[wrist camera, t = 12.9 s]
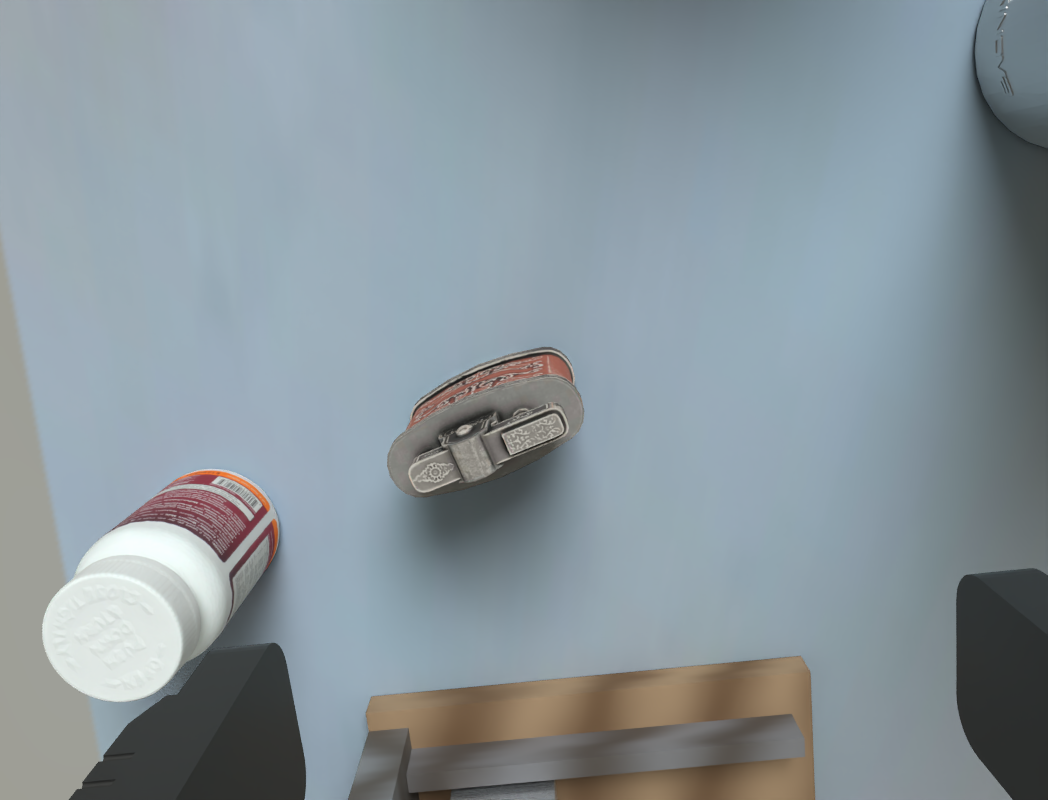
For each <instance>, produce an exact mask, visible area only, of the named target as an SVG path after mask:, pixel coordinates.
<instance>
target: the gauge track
mask: <svg viewBox="0 0 1048 800" xmlns="http://www.w3.org/2000/svg"><path fill="white" fill-rule="evenodd" d="M366 717H367V723H368V729H369V733H368V736H367V739H366V742H365V746H364V749H363V752H362V756H361V759H360V762H359V766H358V769H357V772H356V775H355V779H354V782H353V785H352V789H351V792H350V795H349V798H348V800H450V798H451V790H452V789H459V788H470V787H481V786H492V785H503V784H514V783H525V782H535V781H546V780H555V782H556V791H557V800H815V785H814V758H813V731H812V704H811V676H810V670H809V669H808V667H807V666H806V664H805V662H804V661H803V659H802V657H801V656H796V657H785V658H775V659H764V660H754V661H743V662H733V663H722V664H712V665H701V666H690V667H680V668H669V669H659V670H648V671H638V672H627V673H616V674H606V675H595V676H585V677H574V678H564V679H553V680H542V681H532V682H521V683H511V684H500V685H490V686H479V687H468V688H458V689H447V690H437V691H426V692H416V693H405V694H394V695H384V696H373V697H371V699H370V702H369V706H368V709H367V712H366Z"/></svg>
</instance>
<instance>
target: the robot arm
mask: <svg viewBox="0 0 1048 800" xmlns="http://www.w3.org/2000/svg"><path fill="white" fill-rule="evenodd" d="M975 59H976V70H977V76H978V80H979V83H980V86H981V89H982V92H983V95H984V97H985V99H986V101H987V103H988V104H989V106H990V108H991V109H992V111H993V113H994V115H995V116H996V117H997V118H998V119H999V120H1000V121H1001V122H1002V123H1003V124H1004V125H1005V126H1006V127H1007V128H1008V129H1009V130H1010V131H1011V132H1013V133H1015V134H1016V135H1018V136H1019V137H1021V138H1022V139H1024V140H1026V141H1027V142H1030V143H1033V144H1036V145H1039V146H1042V147H1045V148H1048V0H986V2H985V4H984V7H983V11H982V14H981V17H980V20H979V24H978V27H977V35H976V44H975ZM956 635H957V705H958V711H959V716H960V720H961V723H962V726H963V729H964V732H965V735H966V737H967V739H968V741H969V743H970V745H971V747H972V749H973V751H974V752H975V754H976V755H977V756H978V758H979V759H980V760H981V761H982V762H983V764H984V765H985V766H986V767H987V769H988V770H989V771H990V772H991V773H992V775H993V776H994V777H995V778H996V780H997V781H998V782H999V783H1000V784H1001V786H1002V787H1003V788H1004V789H1005V791H1006V792H1007V793H1008V794H1009V795H1010V797H1011V798H1012V799H1013V800H1048V576H1047V575H1046V574H1044V573H1043V572H1041V571H1039V570H1037V569H1034V568H1031V569H1020V570H1010V571H1000V572H990V573H980V574H970V575H966V576H964V577H963V578H962V579H961V581H960V583H959V585H958V589H957V599H956ZM103 756H104V759H103V762H98V763H97V764H96V766H95V767H94V768H93V769H92V771H91V772H90V773H89V775H88V776H87V777H86V778H85V780H84V781H83V782H82V783H83V786H82V789H77V790H76V791H75V792H74V794H73V795H72V796H71V798H70V799H69V800H304V799H305V789H306V768H305V759H304V753H303V747H302V742H301V737H300V732H299V726H298V721H297V716H296V711H295V706H294V700H293V695H292V690H291V685H290V679H289V674H288V669H287V664H286V660H285V656H284V653H283V651H282V649H281V648H280V646H279V645H278V644H276V643H267V644H257V645H247V646H237V647H227V648H217V649H212V650H211V651H209V652H208V654H207V655H206V656H205V657H204V659H203V660H202V662H201V663H200V664H199V666H198V667H197V668H196V670H195V671H194V672H193V674H192V675H191V677H190V678H189V679H188V681H187V682H186V683H185V685H184V686H183V688H182V689H181V690H180V692H179V693H178V694H177V695H169V696H165V697H164V698H163V699H161V700H160V701H159V702H157V703H156V704H155V705H153V706H152V707H150V708H149V709H148V710H146V711H145V712H144V713H142V714H141V715H140V716H138V717H137V718H136V719H134V720H133V721H131V722H130V723H129V724H128V725H127V726H126V727H125V729H124V730H123V731H122V732H121V734H120V735H119V736H118V738H117V739H116V740H115V741H114V743H113V744H112V745H111V746H110V748H109V749H108V750H107V752H106V753H105V754H104V755H103Z"/></svg>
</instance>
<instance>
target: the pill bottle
mask: <svg viewBox="0 0 1048 800" xmlns="http://www.w3.org/2000/svg"><path fill="white" fill-rule="evenodd" d="M279 535H280V531H279V521H278V517H277V514H276V511H275V508H274V506H273V504H272V502H271V501H270V499H269V497H268V496H267V495H266V493H265V492H264V491H263V490H262V489H261V488H260V487H259V486H258V485H256V484H255V483H254V482H252V481H251V480H249V479H248V478H246V477H244V476H242V475H240V474H237V473H234V472H231V471H228V470H221V469H202V470H197V471H193V472H190V473H188V474H185V475H183V476H181V477H180V478H178V479H176V480H175V481H173V482H172V483H171V484H169V485H168V486H167V487H165V488H164V489H163V490H162V491H160V492H159V493H158V494H157V495H155V496H154V497H153V498H151V499H150V500H149V501H148V502H147V503H145V504H144V505H143V506H142V507H140V508H139V509H138V510H136V511H135V512H134V513H133V514H131V515H130V516H129V517H127V518H126V519H125V520H124V521H122V522H121V523H120V524H119V525H117V526H116V527H115V528H113V529H112V530H111V531H109V532H108V533H106V534H105V535H104V536H103V537H101V538H100V539H99V540H98V541H97V542H96V543H95V544H94V545H93V546H92V547H91V548H90V549H89V550H88V551H87V552H86V554H85V555H84V557H83V558H82V560H81V561H80V563H79V565H78V567H77V570H76V572H75V576H74V578H73V579H72V580H71V581H70V582H68V583H67V584H66V585H65V586H64V587H63V588H61V589H60V590H59V592H58V593H57V594H56V595H55V596H54V597H53V599H52V600H51V602H50V604H49V605H48V608H47V610H46V612H45V616H44V619H43V627H42V637H43V644H44V648H45V651H46V654H47V656H48V658H49V661H50V662H51V664H52V666H53V667H54V669H55V670H56V671H57V673H58V674H59V675H60V676H61V677H62V678H63V679H64V680H65V681H66V682H67V683H69V684H70V685H71V686H73V687H74V688H75V689H77V690H79V691H80V692H82V693H84V694H86V695H89V696H91V697H94V698H97V699H100V700H104V701H110V702H128V701H135V700H139V699H142V698H145V697H148V696H150V695H152V694H154V693H156V692H157V691H159V690H160V689H162V688H163V687H164V686H165V685H166V684H167V683H168V682H169V681H170V680H171V679H172V678H173V677H174V676H175V674H176V673H177V672H178V671H179V669H180V668H181V667H182V666H183V665H184V664H185V663H186V662H188V661H190V660H192V659H194V658H195V657H197V656H198V655H200V654H201V653H203V652H204V651H205V650H206V649H207V648H208V647H209V646H210V645H211V644H212V643H213V642H214V641H215V640H216V639H217V638H218V636H219V635H220V634H221V632H222V631H223V630H224V628H225V626H226V625H227V624H228V622H229V621H230V619H231V618H232V616H233V615H234V614H235V612H236V611H237V609H238V608H239V607H240V605H241V604H242V603H243V601H244V600H245V598H246V597H247V595H248V594H249V592H250V591H251V590H252V588H253V587H254V586H255V584H256V583H257V581H258V580H259V578H260V577H261V576H262V574H263V573H264V572H265V570H266V569H267V567H268V566H269V564H270V563H271V561H272V559H273V557H274V555H275V553H276V550H277V547H278V543H279Z"/></svg>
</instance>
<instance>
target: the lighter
mask: <svg viewBox="0 0 1048 800" xmlns="http://www.w3.org/2000/svg"><path fill="white" fill-rule="evenodd" d="M574 380H575V376H574V372H573V368H572V365H571V363H570V361H569V360H568V358H567V356H565V355H564V354H563V353H562V352H561V351H560V350H557V349H555V348H552V347H541V348H536V349H531V350H526V351H521V352H517V353H512V354H508V355H505V356H502V357H499V358H497V359H494V360H491V361H488V362H485V363H482V364H479V365H477V366H475V367H473V368H471V369H469V370H467V371H465V372H463V373H461V374H459V375H457V376H455V377H453V378H451V379H449V380H447V381H446V382H444V383H443V384H441V385H440V386H438V387H437V388H435V389H434V390H432V391H430V392H429V393H427V394H426V395H424V396H423V397H422V398H421V399H420V400H419V401H418V402H417V403H416V404H415V406H414V408H413V410H412V413H411V415H410V423H409V425H408V427H407V429H406V431H405V432H403V433H402V434H400V435H399V436H398V437H397V439H396V440H395V441H394V442H393V444H392V446H391V448H390V451H389V453H388V459H387V467H388V470H389V474H390V477H391V478H392V480H393V481H394V483H395V484H396V486H397V487H398V488H399V489H401V490H402V491H403V492H404V493H406V494H408V495H411V496H414V497H429V496H434V495H439V494H444V493H449V492H454V491H459V490H464V489H467V488H470V487H473V486H476V485H479V484H482V483H485V482H488V481H491V480H495V479H498V478H501V477H503V476H505V475H507V474H509V473H511V472H514V471H516V470H518V469H520V468H522V467H524V466H526V465H528V464H530V463H532V462H534V461H536V460H538V459H540V458H542V457H543V456H545V455H546V454H548V453H549V452H551V451H552V450H554V449H556V448H557V447H559V446H560V445H562V444H563V443H565V442H567V441H568V440H570V439H571V438H572V437H573V436H575V435H576V434H577V433H578V432H579V430H580V428H581V425H582V423H583V419H584V408H583V404H582V400H581V396H580V394H579V392H578V391H577V389H576V387H575V386H574Z"/></svg>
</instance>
